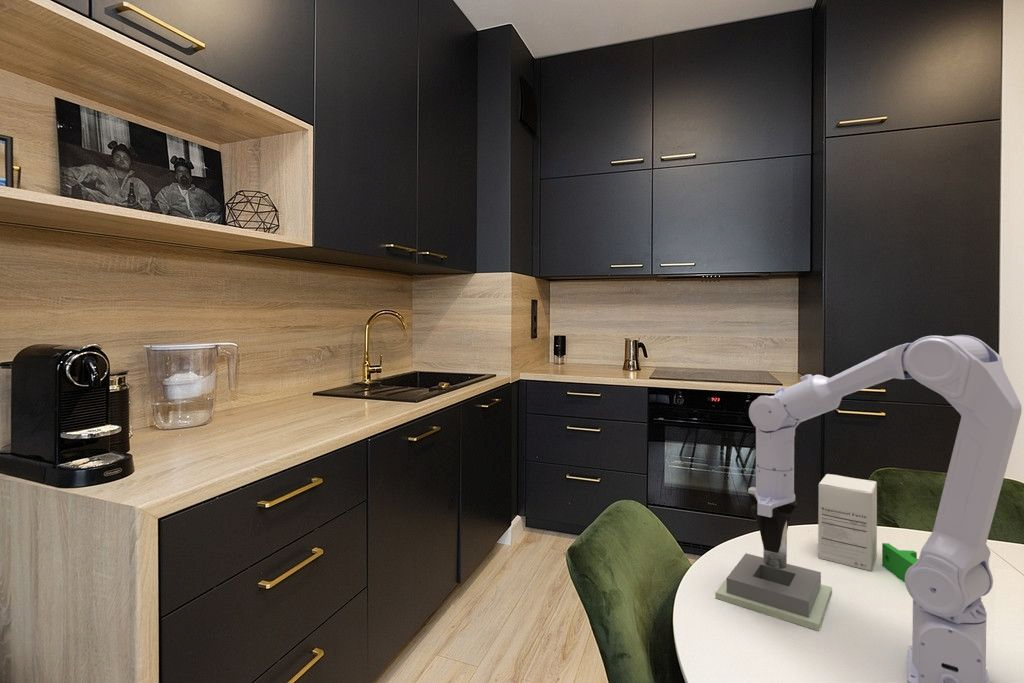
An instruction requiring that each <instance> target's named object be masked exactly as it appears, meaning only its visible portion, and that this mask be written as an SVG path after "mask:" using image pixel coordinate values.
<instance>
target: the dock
mask: <svg viewBox="0 0 1024 683" xmlns="http://www.w3.org/2000/svg"><path fill="white" fill-rule="evenodd" d="M832 594H833V586H828V585H826V584H822V572H821V571H817V570H813V569H809V568H805V567H802V566H798V565H793V564H791V563H787V567H786V568H784V569H776V568H772V567H769V566H767V565H765V564H764V563H763V556H758V555H756V554H755V555H754V554H751V553H747V552H746V553H744V555H743V556H742V558H741V559H740V560H739V561H738V563H736V565H735V566H734V568H733V569H732V570H731V572H730V573H729V574H728V575H727V576H726V578H725V579H724V581H723V582H722V583H721V584H720V585H719V587H718V588H717V590H716V591H715V595H714V596H715V599H716V600H720V601H723V602H726V603H729V604H733V605H736V606H740V607H742V608H745V609H747V610H751V611H754V612H758V613H761V614H763V615H767V616H771V617H774V618H776V619H780V620H783V621H786V622H789V623H791V624H792V623H793V624H796V625H800V626H802V627H805V628H809V629H811V630H814V631H818V632H819V631H820V630H821V626H822V624H823V620H824V617H825V615H826V612H827V610H828V605H829V602H830V599H831V597H832Z"/></svg>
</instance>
